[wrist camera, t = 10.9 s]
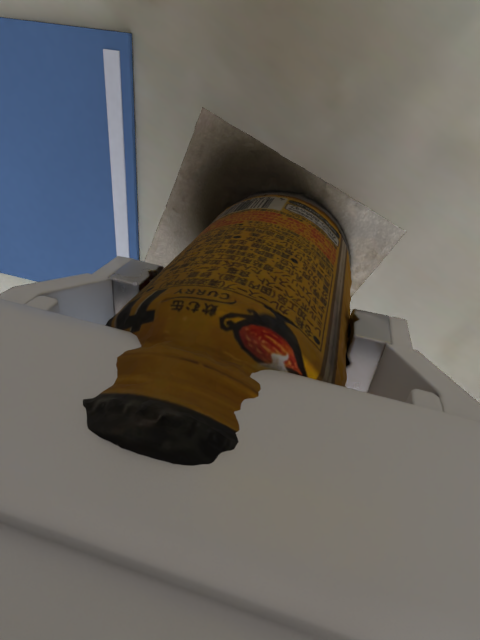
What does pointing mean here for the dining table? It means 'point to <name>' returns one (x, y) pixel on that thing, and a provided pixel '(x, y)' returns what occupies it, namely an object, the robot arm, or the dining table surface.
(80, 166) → the napkin
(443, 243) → the dining table surface
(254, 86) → the dining table surface
